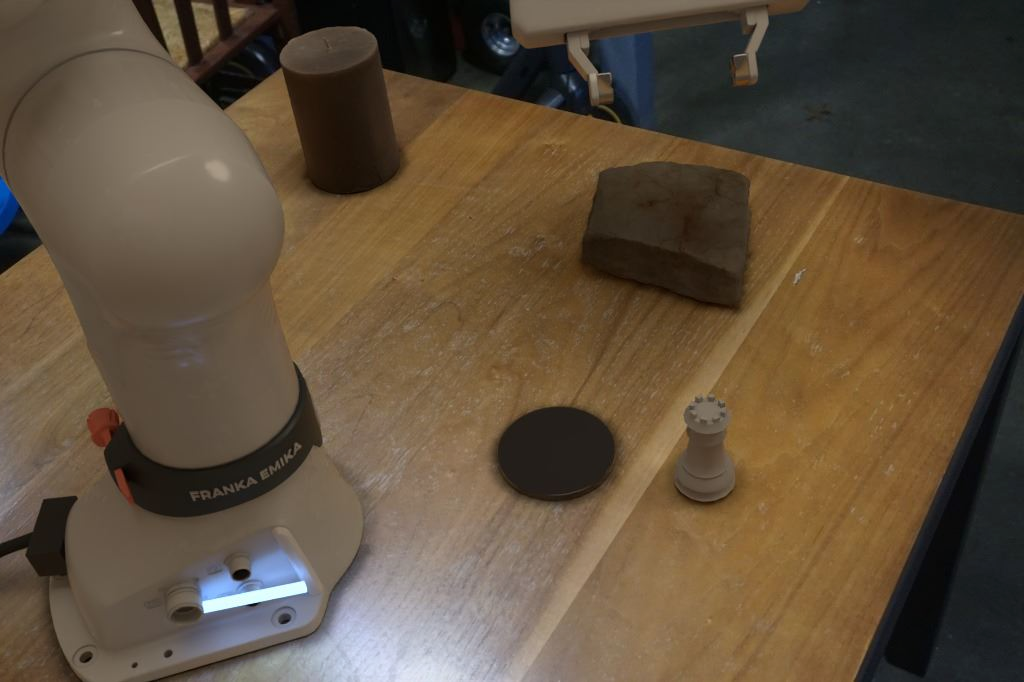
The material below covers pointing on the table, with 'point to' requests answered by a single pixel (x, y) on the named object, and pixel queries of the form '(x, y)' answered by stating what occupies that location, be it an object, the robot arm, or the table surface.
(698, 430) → the rook chess piece
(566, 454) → the slate coaster
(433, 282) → the table surface
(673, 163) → the flat brown rock
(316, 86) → the pillar candle
